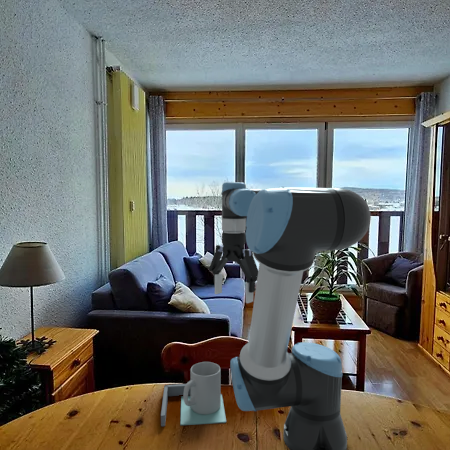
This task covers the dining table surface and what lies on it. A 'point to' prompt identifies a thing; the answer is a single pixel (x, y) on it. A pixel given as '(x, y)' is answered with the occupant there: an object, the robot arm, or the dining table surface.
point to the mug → (204, 388)
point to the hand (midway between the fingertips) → (233, 297)
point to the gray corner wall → (171, 391)
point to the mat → (194, 418)
